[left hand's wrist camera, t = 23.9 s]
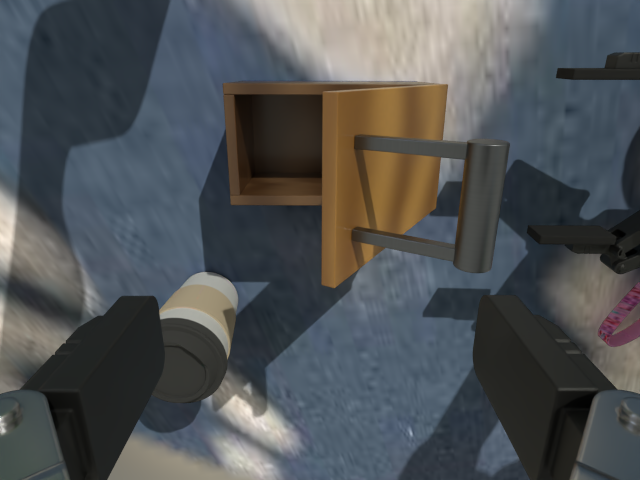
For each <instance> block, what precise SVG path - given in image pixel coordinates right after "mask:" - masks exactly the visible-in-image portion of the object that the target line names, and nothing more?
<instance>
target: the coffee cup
mask: <svg viewBox="0 0 640 480" xmlns="http://www.w3.org/2000/svg"><path fill="white" fill-rule="evenodd" d="M237 305H238V294H237V291H236V289H235V287H234V286H233V284H232V283H231V282H230V281H229V280H228V279H226V278H225V277H223V276H222V275H219V274H217V273H213V272H201V273H197V274H195V275H193V276H191V277H190V278H189V279H188V280H187V281H186V282H185V283H184V284H183V285H182V287H181V288H180V289H179V290H177V291H176V292H175V293H174V294H173V295H172V296H171V297H170V299H169V300H168V301H167V302H166V303H165V304H164V306H163V307H162V308H161V309H160V310H159V314H160V321H161V328H162V335H163V342H164V349H165V362H164V368H163V372H162V375H161V377H160V379H159V381H158V383H157V385H156V387H155V389H154V391H153V393H152V395H153V396H155V397H157V398H159V399H161V400H164V401H167V402H173V403H191V402H197V401H200V400H203V399H205V398H207V397H209V396H210V395H212V394H213V393H214V392H215V391H216V390H217V389H218V387H219V386H220V384H221V382H222V380H223V378H224V376H225V373H226V370H227V359H228V357H229V353H230V348H231V343H232V337H233V332H234V327H235V321H236V310H237Z"/></svg>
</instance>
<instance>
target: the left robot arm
mask: <svg viewBox="0 0 640 480" xmlns="http://www.w3.org/2000/svg"><path fill="white" fill-rule="evenodd" d="M164 362H165V349H164V342H163V335H162V328H161V321H160V314H159V307H158V302H157V300H156V298H155V297H154V296H121V297H120V298H119V299H118V300H117V301H116V302H115V303H114V305H113V306H112V307H111V308H110V309H109V310H108V311H107V312H106V314H105V315H104V316H97V317H95V318H94V319H92V320H90V321H89V322H87V323H85V324H84V325H82V326H80V327H79V328H78V329H77V330H76V331H75V332H74V333H73V334H72V335H71V336H70V337H69V338H68V339H67V340H66V343H63V344H62V346H61V347H60V348H59V349H58V350H57V351H56V352H55V355H52V356H51V357H50V358H49V359H48V360H47V361H46V362H45V364H44V365H43V366H42V367H41V368H40V369H39V370H38V371H37V372H36V373H35V374H34V375H33V376H32V377H31V378H30V379H29V380H28V382H27V383H26V384H25V385H24V386H23V387H22V388H21V389H20V390H15V391H10V392H6V393H2V394H0V480H107V479H108V477H109V475H110V473H111V471H112V469H113V467H114V465H115V463H116V461H117V460H118V458H119V456H120V454H121V452H122V450H123V448H124V446H125V444H126V442H127V441H128V439H129V437H130V435H131V433H132V431H133V429H134V427H135V425H136V423H137V421H138V420H139V418H140V416H141V414H142V412H143V410H144V408H145V406H146V404H147V402H148V400H149V398H150V397H151V395H152V393H153V391H154V389H155V387H156V385H157V383H158V381H159V379H160V377H161V375H162V372H163V368H164ZM473 364H474V369H475V373H476V375H477V377H478V379H479V381H480V383H481V385H482V387H483V389H484V391H485V393H486V395H487V397H488V399H489V401H490V402H491V404H492V406H493V408H494V410H495V412H496V414H497V416H498V418H499V420H500V422H501V424H502V426H503V428H504V430H505V432H506V433H507V435H508V437H509V439H510V441H511V443H512V445H513V447H514V449H515V451H516V453H517V455H518V457H519V459H520V461H521V463H522V464H523V466H524V468H525V470H526V472H527V474H528V476H529V478H530V480H640V394H638V393H634V392H630V391H625V390H617V389H616V388H615V386H614V385H613V384H612V383H611V382H610V381H609V380H608V379H607V378H606V377H605V376H604V375H603V374H602V373H601V372H600V370H599V369H598V368H597V367H596V366H595V365H594V364H593V363H592V362H591V361H590V360H589V359H588V358H587V357H586V356H585V354H582V353H581V350H580V349H579V348H578V347H577V346H576V345H575V344H574V343H571V339H570V338H569V337H568V336H567V335H566V334H565V333H564V332H563V331H562V330H561V329H560V328H559V327H558V326H557V325H555V324H553V323H552V322H550V321H548V320H547V319H545V318H543V317H541V316H540V315H533V314H532V313H531V312H530V310H529V309H528V308H527V307H526V306H525V305H524V304H523V302H522V301H521V300H520V299H519V298H518V297H517V296H515V295H484V296H483V297H482V298H481V300H480V304H479V310H478V317H477V324H476V331H475V338H474V346H473Z"/></svg>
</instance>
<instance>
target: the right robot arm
mask: <svg viewBox="0 0 640 480" xmlns="http://www.w3.org/2000/svg"><path fill="white" fill-rule="evenodd" d="M556 78H561V79H571V80H640V53H612V54H610V55H607V60H606V64H605V68H558V70H557V75H556ZM527 233H528V234H529V235H530V236H531V237H532V238H533V239H534V240H535V241H536V242H538V243H539V244H565V246H566V247H567V248H569V249H570V250H571V251H572V252H575V253H584V254H588V253H589V254H602V255H601V256H600V260H601V262H603V263H604V264H605V265H607V266H608V267H609V268H610V269H612V270H613V271H614V272H616V273H617V274H624V273H626V272H629V271H631V270H634V269H637V268H639V267H640V210H639V211H638V212H636V213H635V214H633V215H632V216H630V217H629V218H627V219H625V220H624V221H622V222H621V223H619V224H618V225H616V226H614V227H613V228H611V229H610V230H608V231H607V230H605V229H604V228H602V227H600V226H551V225H528V230H527Z"/></svg>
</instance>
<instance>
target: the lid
mask: <svg viewBox="0 0 640 480" xmlns="http://www.w3.org/2000/svg"><path fill="white" fill-rule="evenodd" d="M447 89H448V84H432V85H417V86H401V87H386V88H370V89H355V90H340V91H324V92H323V110H322V285H324V286H328V287H331V288H336V287H337V286H338V285H339V284H341V283H342V282H343V281H344V280H346V279H347V278H348V277H349V276H351V275H352V274H353V273H354V272H356V271H357V270H358V269H360V268H361V267H362V266H363V265H365V264H366V263H367V262H368V261H370V260H371V259H372V258H373V257H375V256H376V255H377V254H378V253H380V252H381V251H382V250H384V249H385V248H390V249H394V250H399V251H404V252H409V253H414V254H419V255H424V256H429V257H433V258H438V259H443V260H448V261H453V265H454V266H455V267H456V268H458V269H460V270H462V271H465V272H470V273H485V272H488V271H490V269H491V267H492V261H493V254H494V247H495V241H496V234H497V227H498V221H499V214H500V207H501V201H502V194H503V187H504V180H505V174H506V167H507V160H508V154H509V147H510V143H509V142H507V141H503V140H495V139H472V140H468V141H467V142H456V141H443V130H444V120H445V110H446V99H447ZM441 157H443V158H454V159H464V160H465V164H464V172H463V181H462V189H461V198H460V207H459V215H458V224H457V232H456V241H455V244H449V243H444V242H439V241H433V240H428V239H423V238H417V237H412V236H406V235H402V234H404V233H405V232H406V231H408V230H409V229H410V228H411V227H413V226H414V225H415V224H416V223H418V222H419V221H420V220H421V219H423V218H424V217H425V216H426V215H428V214H429V213H430V212H432V211H433V210H434V209H435V208H436V202H437V192H438V181H439V171H440V161H441Z"/></svg>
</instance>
